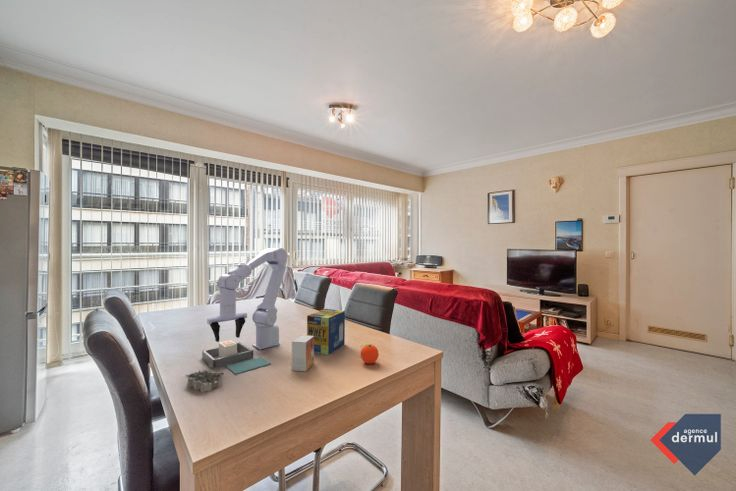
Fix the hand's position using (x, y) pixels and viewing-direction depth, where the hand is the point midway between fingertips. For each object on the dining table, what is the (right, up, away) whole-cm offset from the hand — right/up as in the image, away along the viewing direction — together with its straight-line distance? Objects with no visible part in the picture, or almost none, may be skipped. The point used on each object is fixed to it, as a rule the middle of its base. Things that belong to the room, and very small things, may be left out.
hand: (227, 339), depth 117 cm
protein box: (+38, -8, +12) cm, 40 cm away
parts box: (0, -8, 0) cm, 8 cm away
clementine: (+56, -8, -4) cm, 57 cm away
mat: (+11, -8, -7) cm, 15 cm away
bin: (0, -8, 0) cm, 8 cm away
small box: (+32, -8, -8) cm, 34 cm away
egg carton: (+3, -8, -22) cm, 24 cm away
